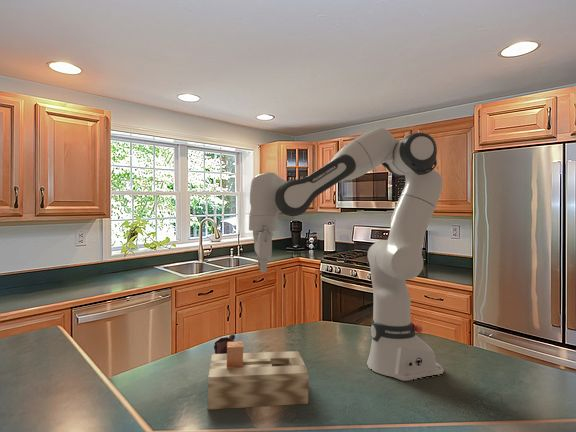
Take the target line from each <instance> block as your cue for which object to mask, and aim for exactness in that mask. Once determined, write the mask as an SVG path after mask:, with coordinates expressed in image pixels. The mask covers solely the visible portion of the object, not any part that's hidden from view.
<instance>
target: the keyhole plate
mask: <svg viewBox="0 0 576 432" xmlns="http://www.w3.org/2000/svg"><path fill="white" fill-rule="evenodd" d="M208 371H209V372H208V376H207V379H208V380H207V381H208V382H207V408H206V409H207V410H221V409H222V410H223V409H224V410H226V409H238V408H239V409H240V408H241V409H243V408H256V407H258V408H260V407H270V406H271V407H273V406H289V405H290V406H291V405H307V404H309V379H310V375H309V370H308V368H307V367H306V364H305V362H304V360H303V358H302V356H301V354H300V352H299V351H298V350H294V351H292V350H291V351H267V352H265V351H264V352H243V367H227V354H215V353H212V354H211V359H210V364H209V370H208Z"/></svg>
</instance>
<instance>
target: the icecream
mask: <svg viewBox="0 0 576 432" xmlns="http://www.w3.org/2000/svg"><path fill="white" fill-rule="evenodd" d="M235 338H236V335H235V334H230V335H229V336H225V337H220V338H219V339H217V340H216V341H215V342H214V346H213V348H214V354H227V342H235V341H234V340H235Z"/></svg>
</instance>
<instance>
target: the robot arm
mask: <svg viewBox="0 0 576 432" xmlns="http://www.w3.org/2000/svg"><path fill="white" fill-rule="evenodd" d="M437 148H438V147H437V143H436V141H435V138H433V136H432V135H430V134H428V133H425V132H413V133H411V134H408V135H407V136H405V137H404V138H402V139H400V140H399V139H396V138H395V137H394V136H393V134H392V133H391V132H390V131H389V130H387V129H385V128H383V127H377V128H374V129H372V130H369V131H367V132H365V133H363V134H361V135H359V136H357V137H356V138H354V139H353V140H351V141H349V142H347V144H345V145H344V146H343V147H342V148H341V149H339V150H338V151H337V152H336V153H335V155H334V156H333V158H332V159H330V160H329V161H328V163H326V164H325V165H323V166H322V167H320V168H318V169H317V170H315V171H314V172H312V173H310V174H309V175H307V176H305V177H302V178H298V179H291V180H285V179H283V178H282V177H280V176H279V175H278V174H276V172H263V173H259V174H257V175H255V176H254V177H253V178H252V179H251V184H250V189H249V205H250V211H249V214H248V215H249V217H248V218H249V219H248V231H250V232H251V231H252V236H253V245H254V246H253V247H254V252H255V253H256V255H257V266H258V267H257V268H259V270H260V273H262V274H263V273H267V270H268V269H267V268H268V267H267V266H268V263H269V262H268V261H269V259H271V258H272V255H273V253H272V251H273V239H272V238H273V237H274V232H277V231H278V223H279V222H278V221H279V218H278V217H279V213H282V214H283V215H286V216H289V217H298V216H301V215H302V214H304V213H305V212H306V211H307V210H308V209H309V208H310V206H311V204H312V203H313V201H314V200H315V199H316V198H317V197H318V196H320V195H321V194H322V193H325V192H326V191H327V190H329V189H330V188H332V187H333V186H335V185H337V184H338V183H341V182H343V181H349V180H355V179H357V178H360V177H361V176H364V175H365V174H368V173H369V172H371V171H373V170H374V169H375V168H377V167H378V166H381V165H382V166H383V167H384V168H385V169H386V170H387V171H388V172H389V173H391V174H392V175H394V176H398V177H405V181H404V182H405V183H404V187H403V189H402V192H401V194H400V195H399V198H398V200H397V203H396V205H395V207H394V209H393V212H392V214H391V217H390V229H389V234H388V237H387V239H382V240H380V241H377V242H374V243H372V245H371V246H370V247H369V248H368V250H367V260H368V264H369V270H370V279H371V285H372V286H371V287H372V292H373V295H372V296H373V297H372V298H373V306H372V307H373V310H372V312H373V313H372V316H373V318H372V319H371V327H370V328H371V329H370V334H371V344H370V350H369V355H368V358H367V362H366V366H367V365H368V366H367V367H368V368H369V370H371V369H372V370H371V371H373V372H375V373H377V374H379V375H384V376H386V377H387V376H388V377H391V378H394V379H396V380H397V379H398V380H399V381H403V382H404V381H405V382H407V381H413V379H414V380H418V379H417V378H420V379H422V378H421V377H425V376H430V375H435V374H440V373H443V372H445V370H444V368H443V367H442V365H441V364H439V362H437V361H436V355H435V352H434V350H433V349H432V347H430V345H429V344H427V343H426V342H425V341H424V340H423V339H421V338H420V337H419V336H418V335H417V333H418V334H421V333H422V332H423V328H422V326H420V325H419V324H415V323H413V322H411V309H412V307H411V303H412V302H411V301H412V300H411V295H410V292H409V290H408V287H407V280H412V279H415V278H417V277H418V276H419V275H420V274H421V273H422V271H423V268H424V257H423V254H422V252H423V247H424V246H423V245H424V240H425V235H426V231H427V230H428V226H429V224H430V222H431V219H432V217H433V214H434V212H435V210H436V208H437V205H438V203H439V199H440V198H441V197H440V196H441V193H442V188H443V183H444V179H443V177H442V175H441V174H440V173H439V172H438V171H437V170H435V168H436V167H437V164H438V161H437V155H438V154H437V153H438V149H437ZM436 362H437V363H436Z"/></svg>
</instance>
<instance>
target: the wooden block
mask: <svg viewBox="0 0 576 432" xmlns="http://www.w3.org/2000/svg"><path fill="white" fill-rule="evenodd" d="M243 353H244V342H243V341H242V340H241V341H240V340H239V341H234V342H227V367H243Z"/></svg>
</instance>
